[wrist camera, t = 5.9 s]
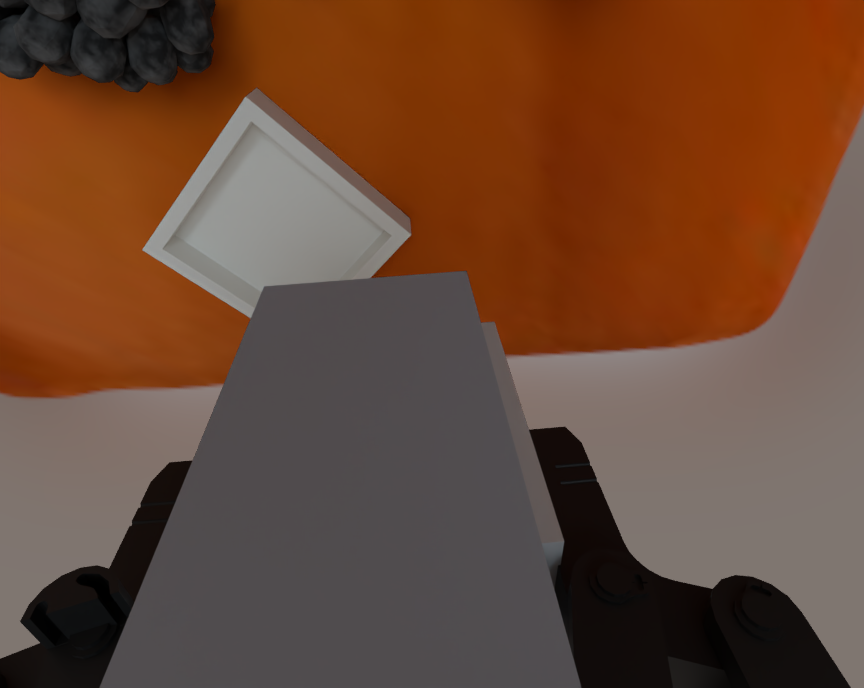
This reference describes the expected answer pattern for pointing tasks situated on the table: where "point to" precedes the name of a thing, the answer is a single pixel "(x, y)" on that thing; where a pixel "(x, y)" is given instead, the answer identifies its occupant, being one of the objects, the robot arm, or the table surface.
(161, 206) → the table surface
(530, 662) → the block
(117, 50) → the fruit
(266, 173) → the tray
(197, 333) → the table surface
